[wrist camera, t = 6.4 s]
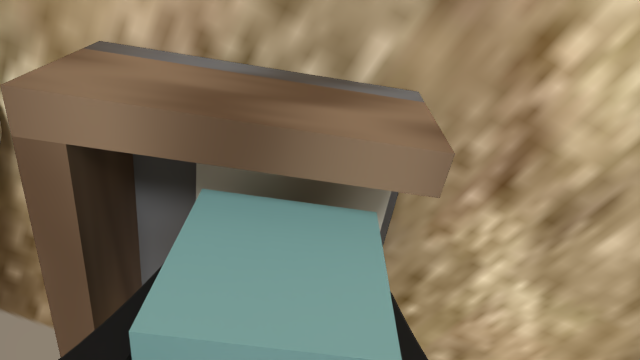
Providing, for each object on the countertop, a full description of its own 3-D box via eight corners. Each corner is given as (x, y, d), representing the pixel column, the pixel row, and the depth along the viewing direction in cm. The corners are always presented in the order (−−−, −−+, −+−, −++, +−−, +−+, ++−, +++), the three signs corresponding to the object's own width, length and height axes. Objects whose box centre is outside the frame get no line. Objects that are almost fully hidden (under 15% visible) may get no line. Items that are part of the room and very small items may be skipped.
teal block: (376, 212, 12) (402, 363, 8) (346, 331, 15) (352, 496, 10) (202, 188, 12) (128, 331, 8) (200, 313, 14) (145, 475, 10)
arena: (418, 91, 14) (454, 154, 10) (357, 312, 18) (364, 413, 15) (99, 40, 13) (0, 85, 9) (123, 282, 18) (65, 379, 14)
